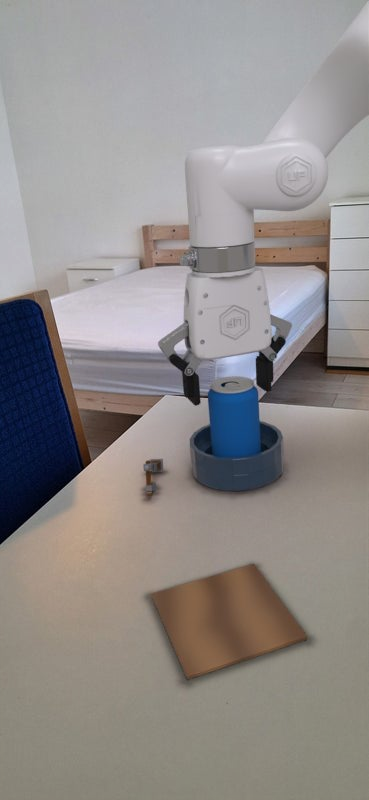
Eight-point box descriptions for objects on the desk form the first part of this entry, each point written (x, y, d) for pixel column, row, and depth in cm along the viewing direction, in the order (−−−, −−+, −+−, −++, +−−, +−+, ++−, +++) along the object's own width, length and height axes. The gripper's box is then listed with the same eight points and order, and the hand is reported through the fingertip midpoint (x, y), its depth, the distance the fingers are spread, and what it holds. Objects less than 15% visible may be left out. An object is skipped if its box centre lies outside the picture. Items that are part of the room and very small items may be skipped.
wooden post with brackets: (140, 497, 74) (139, 461, 75) (151, 490, 82) (149, 457, 83) (154, 497, 74) (153, 460, 74) (164, 490, 82) (162, 457, 82)
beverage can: (248, 452, 84) (243, 371, 80) (270, 471, 78) (266, 386, 74) (206, 463, 82) (199, 381, 78) (225, 483, 76) (219, 396, 72)
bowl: (259, 444, 88) (258, 412, 86) (300, 480, 77) (299, 445, 75) (181, 462, 84) (177, 430, 82) (211, 503, 73) (208, 467, 72)
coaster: (254, 566, 61) (254, 563, 61) (307, 639, 52) (307, 636, 51) (151, 597, 58) (151, 593, 58) (187, 680, 49) (186, 676, 48)
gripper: (161, 272, 65) (173, 418, 71) (304, 254, 69) (304, 392, 75) (143, 264, 71) (156, 397, 77) (275, 248, 76) (277, 375, 82)
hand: (229, 394), depth 76 cm, fingers open, 9 cm apart
